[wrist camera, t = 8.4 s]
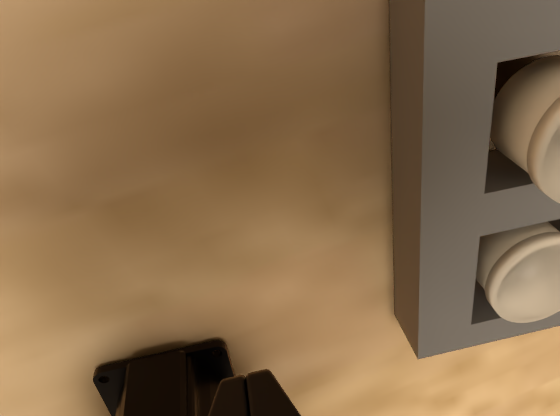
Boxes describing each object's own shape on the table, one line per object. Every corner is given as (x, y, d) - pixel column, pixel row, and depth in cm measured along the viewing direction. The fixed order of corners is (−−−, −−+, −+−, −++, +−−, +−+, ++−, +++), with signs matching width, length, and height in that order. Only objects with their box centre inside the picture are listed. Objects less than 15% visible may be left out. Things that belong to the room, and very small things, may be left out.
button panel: (574, 273, 26) (616, 312, 23) (394, 314, 25) (417, 359, 23) (713, -301, 14) (827, -347, 12) (384, -253, 14) (430, -290, 11)
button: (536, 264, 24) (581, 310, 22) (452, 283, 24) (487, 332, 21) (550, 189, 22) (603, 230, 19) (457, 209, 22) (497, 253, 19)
